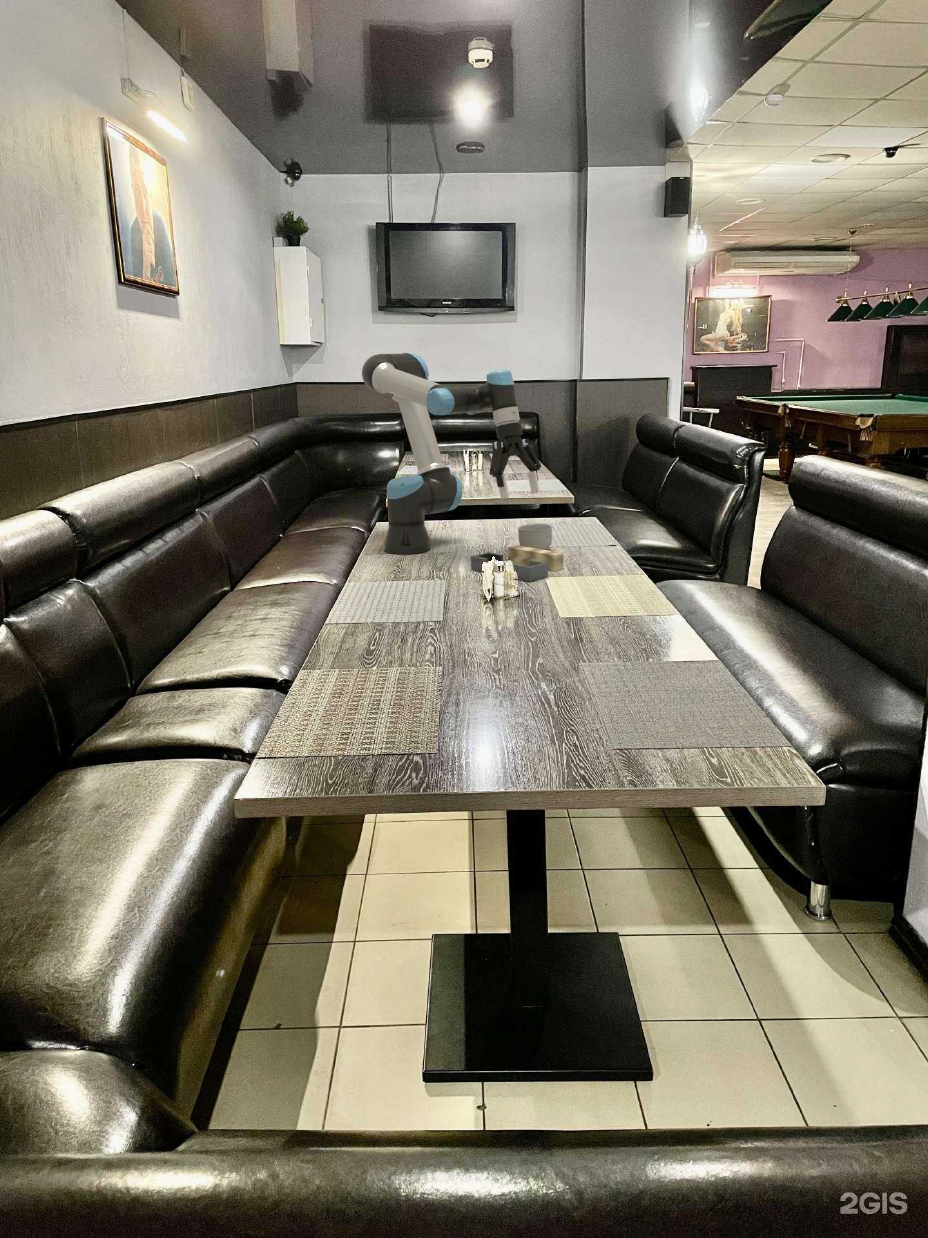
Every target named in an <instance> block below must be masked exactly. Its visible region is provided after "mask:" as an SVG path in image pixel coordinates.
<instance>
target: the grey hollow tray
mask: <svg viewBox="0 0 928 1238" xmlns="http://www.w3.org/2000/svg"><path fill="white" fill-rule="evenodd" d="M514 569H515V570H516V573H517V575H518V579H517V580H518V581H521V582H522V581H523V582H528V583H532V582H537V581H539V580H542V579H543V580H544V579H546V578H548V577H549V570H548V563H545V562H539V561H534V560H530V561H529V566H523V565H518V564H513V570H514Z"/></svg>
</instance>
